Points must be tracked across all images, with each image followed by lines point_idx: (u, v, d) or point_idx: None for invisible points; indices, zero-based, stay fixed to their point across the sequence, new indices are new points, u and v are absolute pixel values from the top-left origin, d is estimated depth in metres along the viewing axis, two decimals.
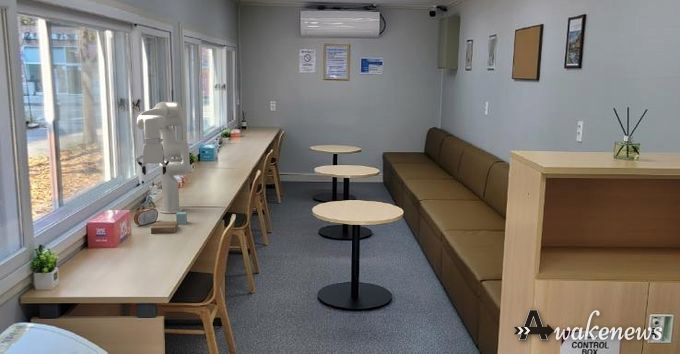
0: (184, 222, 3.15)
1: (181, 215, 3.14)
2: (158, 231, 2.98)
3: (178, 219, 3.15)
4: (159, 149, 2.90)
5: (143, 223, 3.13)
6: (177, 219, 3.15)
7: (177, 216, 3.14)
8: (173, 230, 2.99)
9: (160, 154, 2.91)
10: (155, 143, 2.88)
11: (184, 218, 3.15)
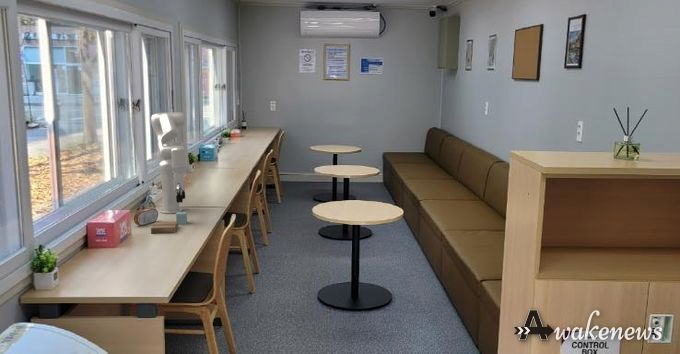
0: (184, 222, 3.15)
1: (181, 215, 3.14)
2: (158, 231, 2.98)
3: (178, 219, 3.15)
4: None
5: (143, 223, 3.13)
6: (177, 219, 3.15)
7: (177, 216, 3.14)
8: (173, 230, 2.99)
9: None
10: None
11: (184, 218, 3.15)
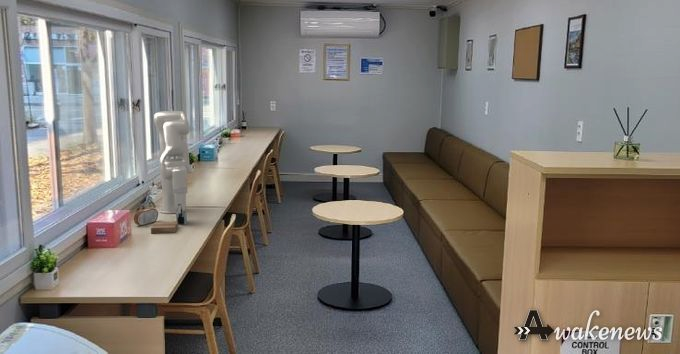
0: (184, 222, 3.15)
1: None
2: (158, 231, 2.98)
3: None
4: None
5: (143, 223, 3.13)
6: (177, 219, 3.14)
7: (177, 216, 3.14)
8: (173, 230, 2.99)
9: None
10: None
11: (184, 218, 3.15)
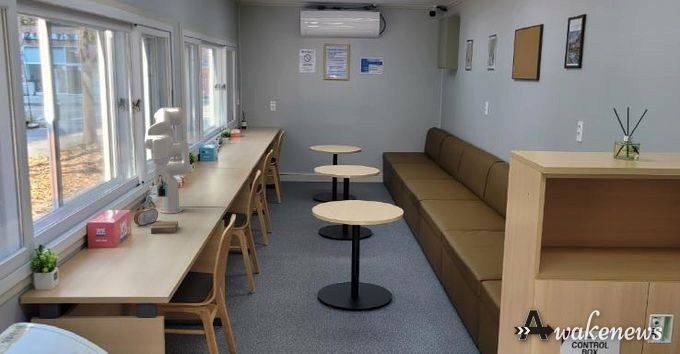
0: (165, 194, 2.98)
1: None
2: (158, 231, 2.98)
3: None
4: None
5: (143, 223, 3.13)
6: (158, 191, 2.97)
7: (158, 188, 2.97)
8: (173, 230, 2.99)
9: None
10: None
11: (165, 190, 2.98)
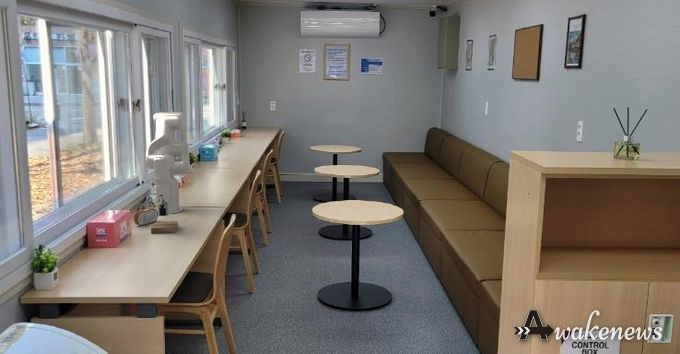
0: (166, 214, 3.00)
1: None
2: (158, 231, 2.98)
3: None
4: None
5: (143, 223, 3.13)
6: (159, 210, 2.99)
7: None
8: (173, 230, 2.99)
9: None
10: None
11: (166, 209, 3.00)
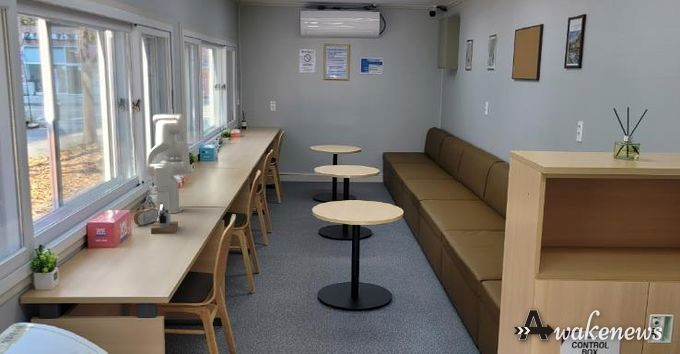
0: (167, 223, 3.01)
1: None
2: (158, 231, 2.98)
3: None
4: (168, 194, 3.04)
5: (143, 223, 3.13)
6: (159, 220, 3.00)
7: None
8: (173, 230, 2.99)
9: None
10: None
11: (167, 219, 3.01)
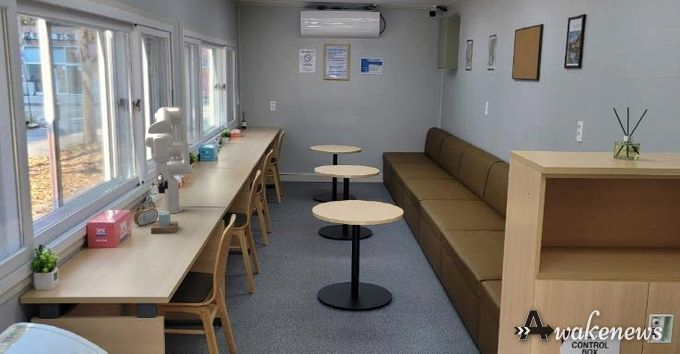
0: (167, 223, 3.01)
1: (164, 216, 3.00)
2: (158, 231, 2.98)
3: (160, 220, 3.01)
4: (167, 165, 3.03)
5: (143, 223, 3.13)
6: (159, 220, 3.00)
7: (159, 217, 3.00)
8: (173, 230, 2.99)
9: None
10: None
11: (167, 219, 3.01)
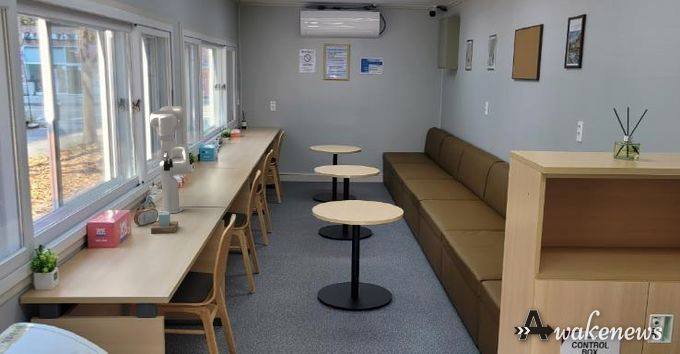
0: (167, 223, 3.01)
1: (164, 216, 3.00)
2: (158, 231, 2.98)
3: (160, 220, 3.01)
4: None
5: (143, 223, 3.13)
6: (159, 220, 3.00)
7: (159, 217, 3.00)
8: (173, 230, 2.99)
9: None
10: None
11: (167, 219, 3.01)
